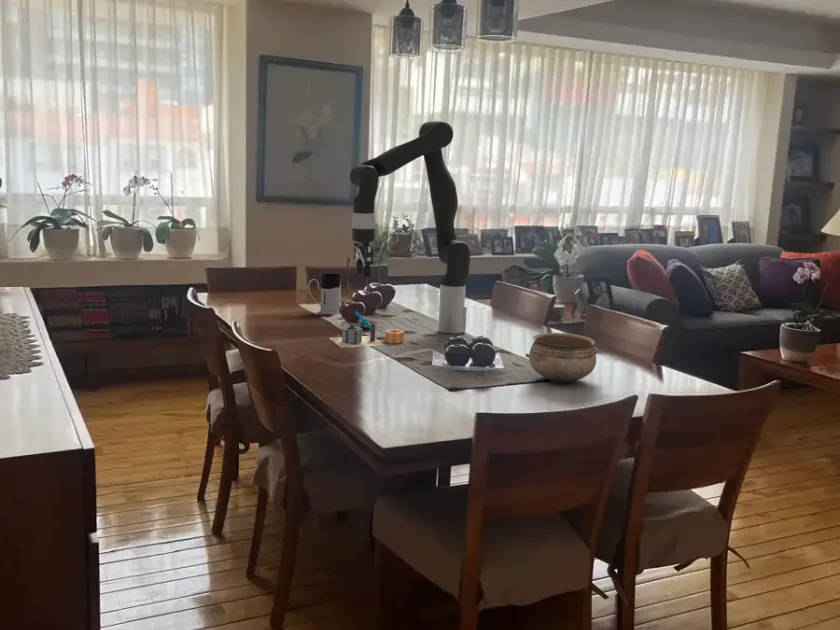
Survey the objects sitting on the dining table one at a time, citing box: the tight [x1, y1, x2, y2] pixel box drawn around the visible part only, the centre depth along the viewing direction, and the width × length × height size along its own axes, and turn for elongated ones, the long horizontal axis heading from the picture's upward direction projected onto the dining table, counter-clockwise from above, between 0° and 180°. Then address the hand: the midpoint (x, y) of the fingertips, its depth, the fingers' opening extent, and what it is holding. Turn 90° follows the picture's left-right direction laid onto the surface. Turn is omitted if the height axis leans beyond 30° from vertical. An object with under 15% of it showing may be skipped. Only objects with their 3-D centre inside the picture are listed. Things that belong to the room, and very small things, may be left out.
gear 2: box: [384, 328, 405, 344], centre depth 255 cm, size 6×6×4 cm
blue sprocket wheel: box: [354, 310, 371, 330], centre depth 272 cm, size 11×6×10 cm
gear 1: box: [341, 326, 363, 344], centre depth 251 cm, size 6×6×4 cm
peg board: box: [329, 322, 385, 349], centre depth 252 cm, size 15×14×7 cm
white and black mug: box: [307, 273, 342, 315], centre depth 303 cm, size 9×14×15 cm, turn 124°
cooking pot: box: [524, 332, 599, 385], centre depth 218 cm, size 25×19×12 cm
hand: (363, 275), depth 255 cm, fingers open, 8 cm apart
